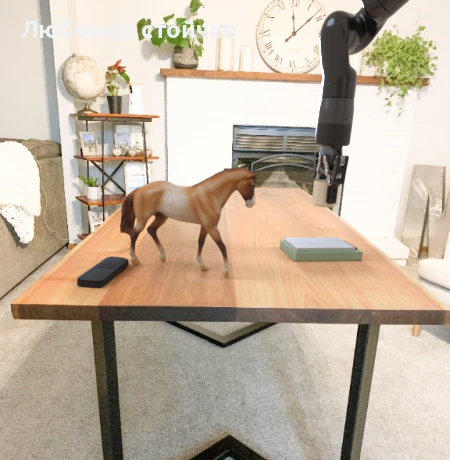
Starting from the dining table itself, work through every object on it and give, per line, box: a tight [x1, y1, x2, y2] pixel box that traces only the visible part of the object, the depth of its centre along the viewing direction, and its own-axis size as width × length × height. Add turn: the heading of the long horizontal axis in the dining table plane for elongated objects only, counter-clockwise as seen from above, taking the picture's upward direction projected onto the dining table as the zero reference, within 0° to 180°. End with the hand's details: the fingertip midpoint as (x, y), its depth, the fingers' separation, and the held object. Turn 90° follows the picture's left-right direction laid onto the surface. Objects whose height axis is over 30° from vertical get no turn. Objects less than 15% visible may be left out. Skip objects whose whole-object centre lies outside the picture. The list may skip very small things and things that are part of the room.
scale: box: [279, 236, 364, 262], centre depth 105 cm, size 16×12×3 cm
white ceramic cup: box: [311, 179, 341, 208], centre depth 100 cm, size 6×6×6 cm
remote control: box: [76, 255, 130, 289], centre depth 85 cm, size 5×2×15 cm
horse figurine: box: [119, 166, 261, 279], centre depth 87 cm, size 31×8×21 cm, turn 69°
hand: (325, 200), depth 101 cm, fingers closed on white ceramic cup, 6 cm apart
